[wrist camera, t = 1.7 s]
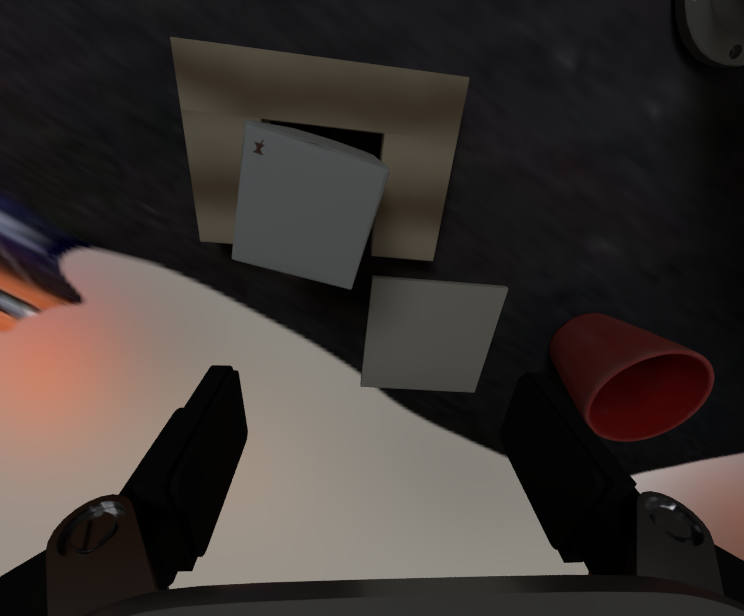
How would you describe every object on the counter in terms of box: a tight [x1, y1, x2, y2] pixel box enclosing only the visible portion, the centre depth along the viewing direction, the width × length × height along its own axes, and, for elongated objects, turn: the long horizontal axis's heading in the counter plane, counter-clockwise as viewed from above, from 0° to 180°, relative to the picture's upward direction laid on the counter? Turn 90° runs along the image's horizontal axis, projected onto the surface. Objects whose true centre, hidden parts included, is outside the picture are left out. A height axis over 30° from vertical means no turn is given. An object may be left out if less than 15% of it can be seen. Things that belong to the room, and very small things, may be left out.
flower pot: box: [549, 313, 714, 441], centre depth 33 cm, size 11×11×10 cm
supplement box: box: [232, 120, 390, 290], centre depth 22 cm, size 7×7×13 cm
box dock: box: [170, 37, 469, 261], centre depth 26 cm, size 14×20×3 cm
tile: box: [361, 275, 508, 392], centre depth 36 cm, size 14×14×1 cm
